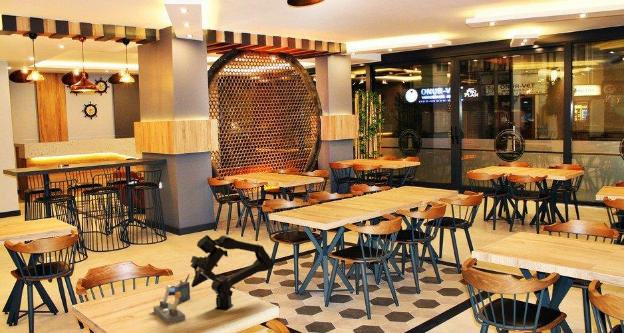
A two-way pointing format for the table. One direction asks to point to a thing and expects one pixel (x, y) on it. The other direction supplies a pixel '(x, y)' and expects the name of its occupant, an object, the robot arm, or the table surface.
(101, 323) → the table surface
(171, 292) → the camera
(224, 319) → the table surface
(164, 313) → the switch panel
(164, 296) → the steel lever
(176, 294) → the brass lever
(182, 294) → the flask
